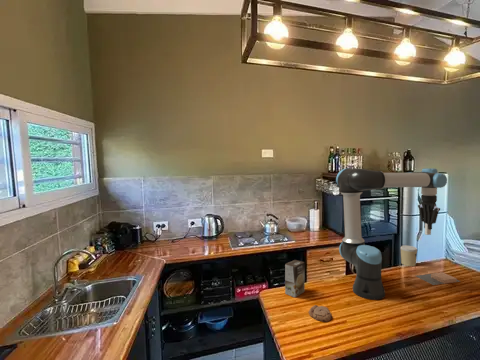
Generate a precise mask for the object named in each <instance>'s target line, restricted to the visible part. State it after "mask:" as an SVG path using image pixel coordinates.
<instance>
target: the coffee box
mask: <svg viewBox="0 0 480 360" xmlns="http://www.w3.org/2000/svg"><path fill="white" fill-rule="evenodd" d="M284 267H285V269H284V271H285V272H284V275H285V276H284V281H285V282H284V283H285V285H284V287H285V288H284V293H285V295H287V296H290V297H292V298H297V297H298V296H300V295H301V294H303V293H305V288H306V287H305V284H306V282H305V281H306V280H305V279H306V277H305V276H306V275H305V274H306V273H305V272H306V271H305V269H306V268H305V267H306V266H305V261H301V260H297V259H294V260H292V261H291V260H290V261H289V262H286V263H285V265H284Z"/></svg>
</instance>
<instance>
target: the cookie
mask: <svg viewBox="0 0 480 360" xmlns="http://www.w3.org/2000/svg"><path fill="white" fill-rule="evenodd" d="M308 314H309V316H310V317H311V318H313V319H314V320H315V321H319V322H321V323H327V322H329V321H331V320H332V317H333V316H332V313H331V311H330V310H329V308H328V307H327V306H323V305H316V304H315V305H313V306H311V307H310V309H309V310H308Z"/></svg>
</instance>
